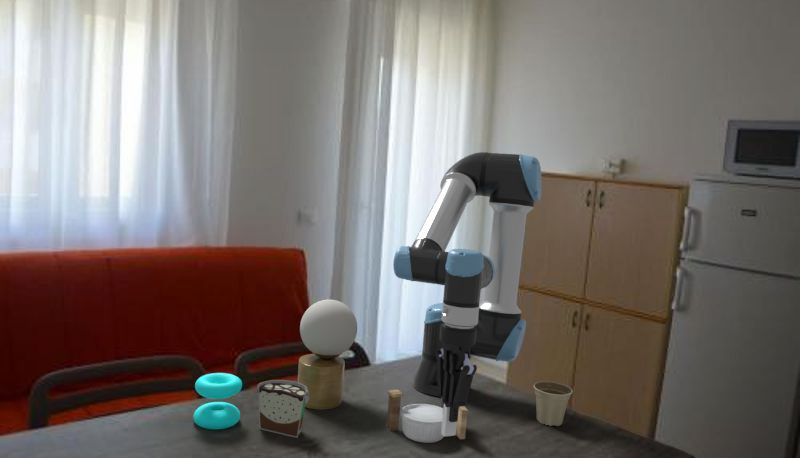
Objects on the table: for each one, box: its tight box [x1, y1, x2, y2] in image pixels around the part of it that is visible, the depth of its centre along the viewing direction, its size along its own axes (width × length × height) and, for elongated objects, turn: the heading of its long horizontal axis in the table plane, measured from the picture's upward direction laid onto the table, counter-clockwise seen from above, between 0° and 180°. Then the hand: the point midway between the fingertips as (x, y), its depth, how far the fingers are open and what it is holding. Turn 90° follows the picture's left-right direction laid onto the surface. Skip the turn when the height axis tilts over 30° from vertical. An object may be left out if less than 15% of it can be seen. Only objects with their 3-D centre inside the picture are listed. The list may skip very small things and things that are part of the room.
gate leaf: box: [455, 406, 469, 440], centre depth 152 cm, size 10×1×7 cm, turn 15°
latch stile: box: [385, 389, 404, 432], centre depth 151 cm, size 3×3×9 cm
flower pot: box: [532, 380, 574, 427], centre depth 163 cm, size 9×9×9 cm
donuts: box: [193, 372, 243, 430], centre depth 147 cm, size 10×10×10 cm
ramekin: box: [400, 403, 444, 444], centre depth 150 cm, size 11×11×5 cm
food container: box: [255, 379, 309, 439], centre depth 146 cm, size 12×6×10 cm, turn 71°
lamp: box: [297, 299, 358, 410], centre depth 165 cm, size 15×14×25 cm
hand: (448, 434), depth 140 cm, fingers closed
